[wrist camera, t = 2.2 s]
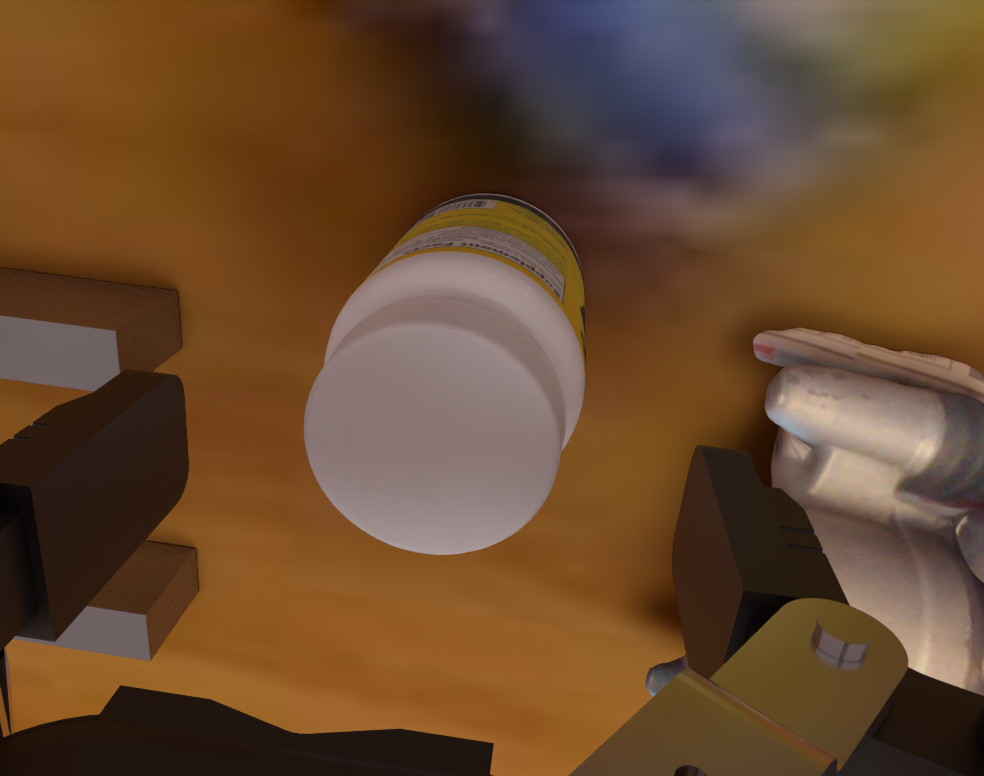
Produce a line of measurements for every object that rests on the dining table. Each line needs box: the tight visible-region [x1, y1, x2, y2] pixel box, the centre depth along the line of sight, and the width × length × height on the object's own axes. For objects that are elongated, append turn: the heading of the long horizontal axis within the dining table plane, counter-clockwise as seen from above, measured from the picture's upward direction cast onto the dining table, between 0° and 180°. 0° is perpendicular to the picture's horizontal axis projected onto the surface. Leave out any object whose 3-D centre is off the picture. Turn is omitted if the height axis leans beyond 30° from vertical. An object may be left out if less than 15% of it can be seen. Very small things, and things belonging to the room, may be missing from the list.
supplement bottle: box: [304, 193, 586, 555], centre depth 16 cm, size 5×5×8 cm
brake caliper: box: [646, 328, 984, 696], centre depth 18 cm, size 11×11×12 cm
